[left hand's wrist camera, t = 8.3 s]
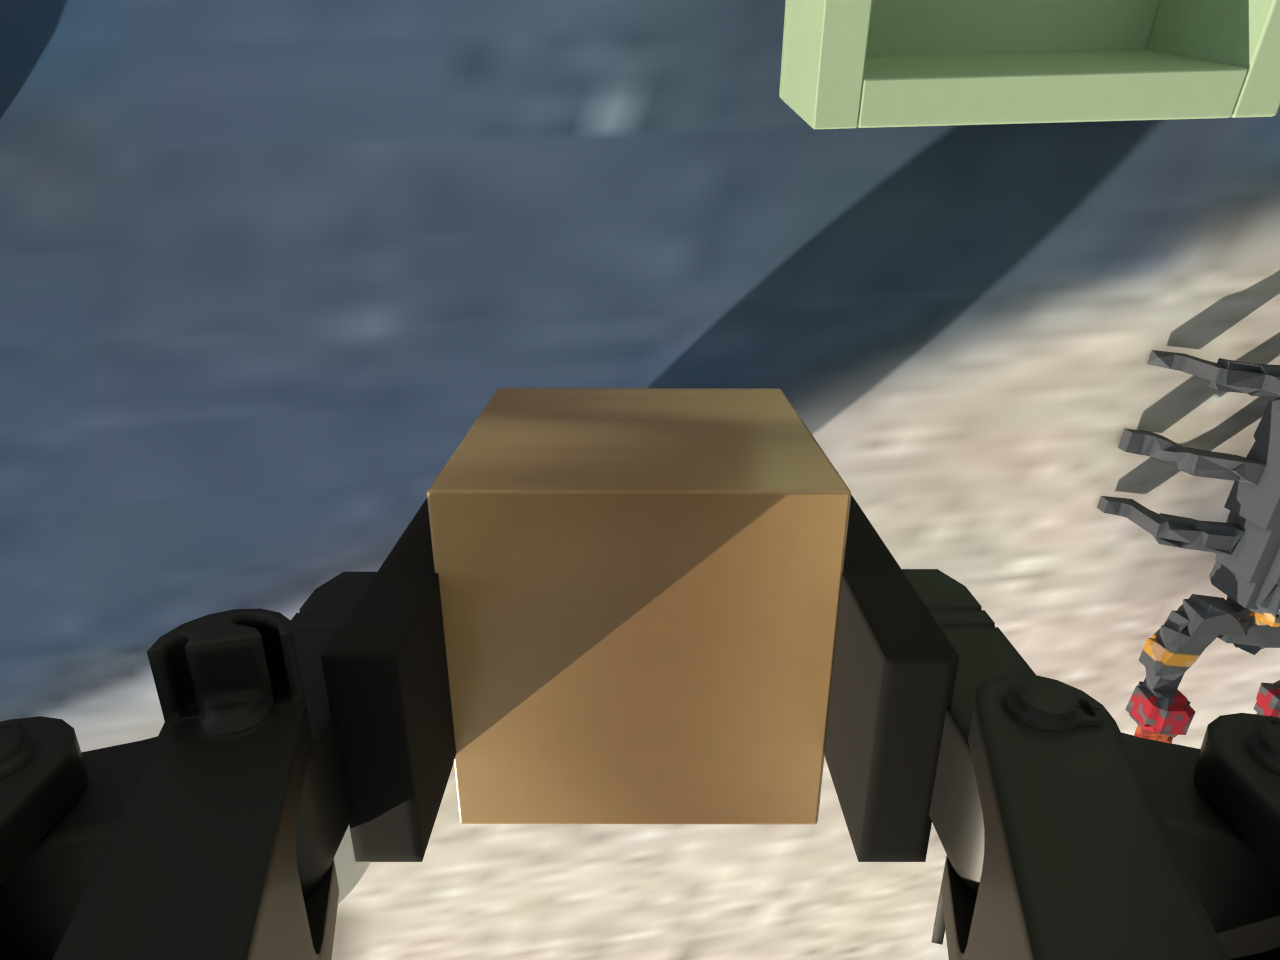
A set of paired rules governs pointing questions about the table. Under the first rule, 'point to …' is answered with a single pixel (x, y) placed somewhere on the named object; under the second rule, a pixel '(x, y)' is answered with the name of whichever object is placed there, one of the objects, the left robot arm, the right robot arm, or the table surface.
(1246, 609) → the toy
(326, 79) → the table surface
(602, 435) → the block
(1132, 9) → the tray
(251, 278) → the table surface
